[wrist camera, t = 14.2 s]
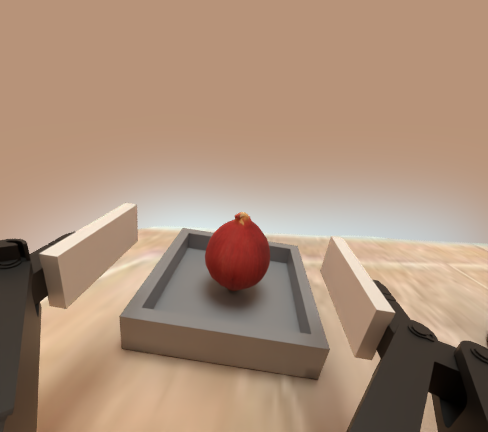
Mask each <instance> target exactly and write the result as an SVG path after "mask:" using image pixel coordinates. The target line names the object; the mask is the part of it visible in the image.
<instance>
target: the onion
mask: <svg viewBox="0 0 488 432" xmlns="http://www.w3.org/2000/svg"><path fill="white" fill-rule="evenodd" d="M205 264H206V266H207V269H208V271H209V273H210V275H211V277H212V278H213V279H214V280H215V281H217V282H218V283H219V284H220V285H221V286H223V287H225V288H227V289H228V290H230V291H238V290H242V289H246V288H250V287H252V286H254V285H256V284H257V283H258V282H259V281H261V280H262V278H263V277H264V275H265V274H266V272H267V270H268V267H269V264H270V249H269V243H268V241H267V238H266V237H265V235H264V234H263V233H262V231H261V230H260V228H259V227H258V226H257V225H256V224H255V223H253V222H252V221H251V219H250V217H249V216H248V215H247V214H246V213H245V212H244V213H243V212H240V213H238V214H237V215H235V220H232V221H230V222H227V223H225V224H224V225H222V226H221V227H220V228H219V229H218V230H217V231H216V232H214V234H213V235H212V236H211V238H210V240H209V243H208V245H207V248H206V253H205Z"/></svg>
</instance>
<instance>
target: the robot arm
mask: <svg viewBox="0 0 488 432" xmlns="http://www.w3.org/2000/svg"><path fill="white" fill-rule="evenodd" d="M137 241H138V230H137V205H136V204H130V203H124V204H123V205H121V206H119V207H118V208H116V209H114V210H112V211H111V212H109V213H107V214H106V215H104V216H102V217H101V218H99V219H97V220H95V221H94V222H92V223H90V224H89V225H87V226H85V227H84V228H82V229H80V230H78V231H77V232H72V233H68V234H65V235H63V236H61V237H59V238H58V239H56V240H55V241H52V242H51V243H49V244H48V245H46V246H44V247H42V248H40V249H38V250H37V251H35V252H33V253H31V254H29V250H28V246H27V243H26V241H24V240H21V239H6V240H0V432H36V428H37V403H38V379H39V354H40V330H41V304H40V301H41V300H43V299H44V298H45V297H46V296H48V300H49V305H50V306H53V307H59V308H64V309H67V308H68V307H69V306H70V305H71V304H72V303H73V302H74V301H75V300H76V299H77V298H78V297H79V296H80V295H81V294H82V293H83V292H85V291H86V290H87V289H88V288H89V287H90V286H91V285H92V284H93V283H94V282H95V281H96V280H97V279H98V278H99V277H100V276H101V275H102V274H103V273H104V272H106V271H107V270H108V269H109V268H110V267H111V266H112V265H113V264H114V263H115V262H116V261H117V260H118V259H119V258H120V257H121V256H122V255H123V254H124V253H125V252H127V251H128V250H129V249H130V248H131V247H132V246H133V245H134V244H135V243H136V242H137ZM320 271H321V274H322V276H323V279H324V281H325V284H326V286H327V289H328V291H329V294H330V296H331V299H332V301H333V304H334V306H335V309H336V311H337V314H338V316H339V319H340V322H341V324H342V327H343V329H344V332H345V334H346V337H347V339H348V342H349V344H350V347H351V349H352V352H353V354H354V357H356V358H362V359H368V360H372V359H373V357H374V355H375V353H376V351H377V352H378V354H379V356H380V358H381V360H380V362H379V364H378V366H377V368H376V370H375V371H374V373H373V375H372V378H371V381H370V383H369V385H368V387H367V389H366V391H365V393H364V395H363V397H362V400H361V402H360V404H359V406H358V408H357V410H356V412H355V414H354V416H353V418H352V421H351V423H350V425H349V427H348V429H347V431H346V432H420V428H421V423H422V418H423V413H424V409H425V404H426V399H427V394H428V392H429V393H431V394H432V400H433V405H434V411H435V417H436V423H437V428H438V432H488V349H487V348H485V347H483V346H481V345H479V344H477V343H474V342H471V341H462V342H461V343H460V344H459V346H458V347H457V348H455V347H453V346H450V345H448V344H445V343H442V342H440V341H438V340H437V337H436V336H435V335H434V333H433V332H432V331H431V330H429V329H428V328H427V327H425V326H424V325H422V324H421V323H418V322H416V321H414V320H410V318H409V317H408V316H407V314H406V313H405V312H404V310H403V309H402V308H401V306H400V305H399V304H398V302H396V300H395V298H394V297H393V296H391V293H390V292H389V291H388V289H387V288H386V287H385V286H384V285H383V284H381V283H380V282H379V281H377V280H372V279H371V277H370V276H369V275H368V273H367V272H366V270H365V269H364V267H363V266H362V265H361V263H360V262H359V260H358V259H357V258H356V256H355V255H354V253H353V252H352V250H351V249H350V248H349V246H348V245H347V243H346V242H345V241H344V239H343V238H339V237H333V236H331V239H330V242H329V245H328V248H327V252H326V255H325V258H324V261H323V264H322V267H321V270H320ZM487 339H488V336H487Z"/></svg>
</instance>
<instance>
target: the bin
mask: <svg viewBox="0 0 488 432" xmlns="http://www.w3.org/2000/svg"><path fill="white" fill-rule="evenodd" d="M213 234H214V233H211V232H205V231H199V230H192V229H186V228H183V229H182V230H181V231H180V233H179V234H178V236H177V237H176V238H175V240H174V241H173V243H172V244H171V245H170V247H169V248H168V249H167V251H166V252H165V254H164V255H163V256H162V258H161V259H160V261H159V262H158V263H157V265H156V266H155V268H154V269H153V270H152V272H151V273H150V275H149V276H148V277H147V279H146V280H145V282H144V283H143V284H142V286H141V287H140V289H139V290H138V291H137V293H136V294H135V295H134V297H133V298H132V300H131V301H130V302H129V304H128V305H127V307H126V308H125V309H124V311H123V312H122V314H121V315H120V330H121V345H122V349H127V350H134V351H140V352H146V353H153V354H159V355H165V356H172V357H178V358H185V359H191V360H197V361H204V362H210V363H216V364H223V365H229V366H235V367H242V368H248V369H254V370H261V371H267V372H273V373H280V374H286V375H292V376H299V377H305V378H311V379H318V378H319V375H320V373H321V370H322V368H323V365H324V363H325V360H326V358H327V355H328V353H329V350H330V349H329V345H328V342H327V339H326V336H325V333H324V329H323V326H322V323H321V320H320V317H319V313H318V310H317V307H316V304H315V301H314V297H313V294H312V291H311V288H310V285H309V281H308V278H307V275H306V272H305V269H304V265H303V262H302V259H301V256H300V253H299V249H298V246H294V245H287V244H281V243H275V242H268V243H269V249H270V264H269V267H268V270H267V272H266V274H265V275H264V277H263V278H262V280H261V281H259V282H258V283H257V284H256V285H254V286H252V287H250V288H246V289H242V290H238V291H230V290H228V289H227V288H225V287H223V286H221V285H220V284H219V283H218V282H217V281H215V280H214V279H213V278H212V277H211V275H210V273H209V271H208V269H207V266H206V264H205V253H206V248H207V245H208V243H209V240H210V238H211V236H212V235H213Z"/></svg>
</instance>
